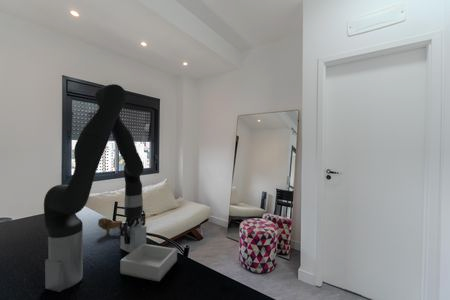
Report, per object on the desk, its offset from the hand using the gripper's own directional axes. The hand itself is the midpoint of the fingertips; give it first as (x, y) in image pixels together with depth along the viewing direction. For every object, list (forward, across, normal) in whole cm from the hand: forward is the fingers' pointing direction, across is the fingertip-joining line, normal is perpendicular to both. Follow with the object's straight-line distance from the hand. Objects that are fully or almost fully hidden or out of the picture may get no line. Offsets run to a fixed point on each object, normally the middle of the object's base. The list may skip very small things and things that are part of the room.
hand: (133, 239), depth 92 cm
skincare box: (+4, 0, 0) cm, 4 cm away
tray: (+4, -10, -16) cm, 19 cm away
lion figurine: (+4, +9, +20) cm, 22 cm away
